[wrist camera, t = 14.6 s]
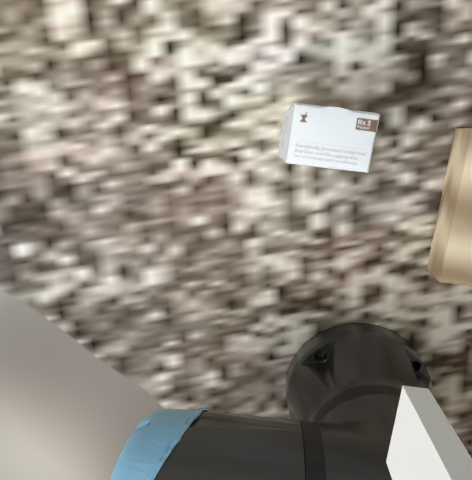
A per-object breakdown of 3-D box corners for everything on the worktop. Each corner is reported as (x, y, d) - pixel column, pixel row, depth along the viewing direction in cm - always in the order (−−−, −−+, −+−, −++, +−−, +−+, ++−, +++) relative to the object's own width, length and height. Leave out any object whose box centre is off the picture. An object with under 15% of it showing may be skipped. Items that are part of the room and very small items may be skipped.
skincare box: (277, 157, 41) (280, 168, 29) (284, 110, 40) (289, 101, 28) (340, 166, 41) (368, 179, 29) (349, 118, 40) (382, 112, 28)
